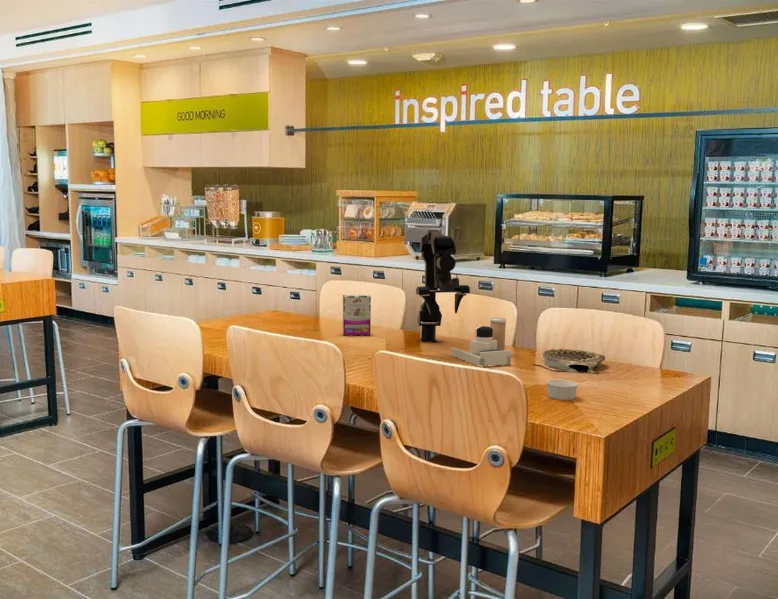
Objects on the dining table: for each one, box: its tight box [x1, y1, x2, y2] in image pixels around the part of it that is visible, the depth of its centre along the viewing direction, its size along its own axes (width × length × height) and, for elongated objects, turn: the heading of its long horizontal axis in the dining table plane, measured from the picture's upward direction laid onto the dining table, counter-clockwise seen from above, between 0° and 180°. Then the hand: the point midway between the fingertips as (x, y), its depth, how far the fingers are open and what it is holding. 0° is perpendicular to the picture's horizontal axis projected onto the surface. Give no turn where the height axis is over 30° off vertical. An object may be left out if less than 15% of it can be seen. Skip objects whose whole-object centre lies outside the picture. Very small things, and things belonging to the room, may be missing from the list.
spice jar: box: [489, 317, 507, 351], centre depth 289 cm, size 6×6×13 cm
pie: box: [539, 348, 606, 374], centre depth 273 cm, size 28×27×5 cm
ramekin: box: [546, 378, 579, 401], centre depth 229 cm, size 9×9×4 cm
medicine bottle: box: [469, 325, 497, 356], centre depth 275 cm, size 7×7×12 cm
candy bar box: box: [342, 294, 372, 337], centre depth 321 cm, size 11×5×16 cm, turn 99°
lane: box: [450, 347, 512, 368], centre depth 277 cm, size 20×12×5 cm, turn 25°
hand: (443, 313), depth 285 cm, fingers open, 9 cm apart
